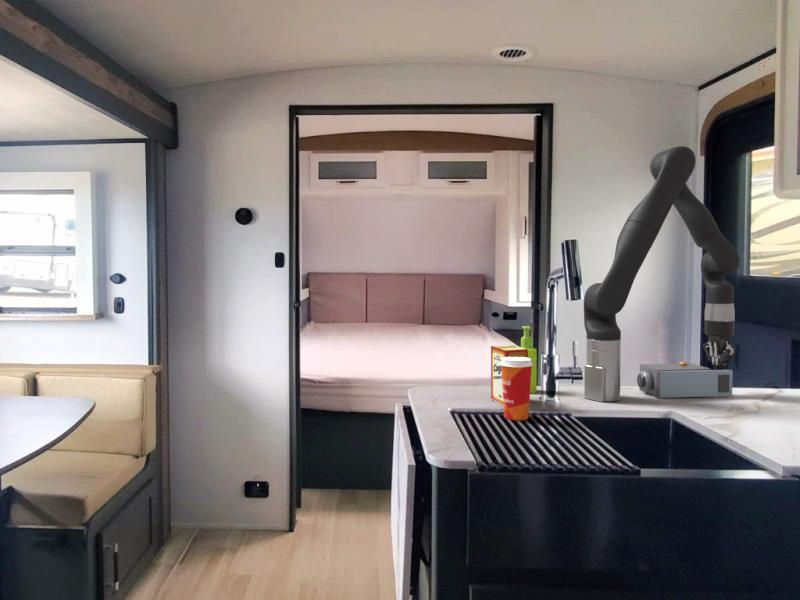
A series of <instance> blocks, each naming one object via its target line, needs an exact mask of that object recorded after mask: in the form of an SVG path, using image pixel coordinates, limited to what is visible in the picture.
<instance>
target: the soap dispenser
mask: <svg viewBox="0 0 800 600" xmlns="http://www.w3.org/2000/svg"><path fill="white" fill-rule="evenodd" d="M521 328H522V329H523V336H522V337H520V347H521V348H525V349H528V358H530V359H531V362H532V363H533V366H532V369H531V386H530V394H535V393H537V356H538V355H537V350H538V349H537V348H535V347H533V337H531V336H530V330H531V327H530V325H523V326H521Z"/></svg>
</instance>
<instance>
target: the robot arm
mask: <svg viewBox="0 0 800 600" xmlns="http://www.w3.org/2000/svg"><path fill="white" fill-rule="evenodd" d="M696 161H697V160H696V155H695V153H694V151H693V150H692V149H691V148H690V147H688V146H684V145H683V146H674V147H671V148H669V149H666V150H662V151H660V152H658V153H656V154H655V155H654V156H653V157H652V159H651V161H650V164H649V169H650V174H651V176H652V178H653V179H654V180H655V181H654V183H653V185H652V187H651V188H650V190H649V192H648V193H647V194H645V195H646V196H644V197H643V198H642V199H641V200H640V202H639V203H638V204H637V205H636V206H635V208H634V209H633V210H632V212H630V214H629V216H628V217H627V218H626V221H625V222H624V224H623V226H622V228H621V230H620V233H619V235H618V237H617V241H616V246H615V252H614V257H613V261H612V264H611V267H610V268H609V270H608V272H607V274H606V276H605V277H604V279H603V281H602V282H596V283H594V284H592V285H590V286H589V287H588V288H587V289H586V290H585V293H584V298H583V325H584V329H585V332H586V350H585V351H586V355H585V357H586V363H585V365H584V395H583V397H584V399H588V400H592V401H598V402H603V403H605V402H615V401H620V400H621V357H622V356H621V352H622V351H621V348H622V346H621V345H622V342H621V341H622V340H621V339H622V334H621V333H622V331H621V329H620V328H619V326H618V323H617V319H616V318H617V316H616V315H617V314H618V313H620V312H621V311H622V309H623V308H624V307H625V305H626V303H627V299H628V298H629V295H630V293H631V289H632V287H633V284H634V281H635V279H636V277H637V275H638V273H639V271H640V269H641V267H642V265H643V263H644V261H645V260H646V257H647V255H648V254H649V252H650V250H651V248H652V246H653V245H654V244H655V243H654V242H655V241H656V239H657V238H658V235H659V233H660V231H661V229H662V227H663V224H664V222H665V220H666V218H667V217H668V214H669V213H670V211H671V210H672V206H673V207H674V208H675V210H677V212H678V213H679V216H680V217H681V219H682V221H683V222H684V224H685V226H686V228H687V230H688V232H689V234H690V236H691V238H692V239H693V242H694V244H695V245H696V246H697V247H698V248H701V249H703V250H705V251H706V252H705V253H704V254H703V256H702V258H701V261H700V271H701V276H702V280H703V284H704V287H705V307H704V334H705V335H706V336H708V338H707V342H706V343H702V348H703V350H704V353H705V354H706V356H707V360H708V361H709V362H711V364H712V365H713V370H725V366H726V365H730V364H731V362H732V360H733V359H734V357H735V355H736V353H737V352H738V351H737V349H736V348H733V347H732V346H731V345H732V341H731V337H733V336H735V324H736V323H735V321H736V320H735V317H736V315H735V314H736V313H735V312H736V311H735V304H734V302H735V300H734V299H735V298H734V297H735V290H734V288H735V287H734V285H733V284H731V283H729V282H727V280H726V276H725V275H732V274H734V273H735V272H737V271H738V269H740V266H741V260H740V255H739V253H738V251H737V250H736V248H735V247H734V245H732V243H731V242H730V241H729V240H728V239H727V238H726V236H724V235H723V234H722V232H721V230H720V227H719V226H718V224H717V222H716V220H715V218H714V215H712V213H711V212H710V210H709V209H708V208H707V207H706V205H704V203H702V201H700V200H699V198H698V197H696V196H695V194H694V193H693V192H692V190H690V188H689V187H688V185H687V182H688V181H689V179H690V177H692V173H693V172H694V170H695V168H696V163H697V162H696Z"/></svg>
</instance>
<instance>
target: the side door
mask: <svg viewBox="0 0 800 600" xmlns="http://www.w3.org/2000/svg"><path fill="white" fill-rule="evenodd" d="M733 372H734V371H733V369H724V370H714V369H711V370H695V371H655V396H654V398H656V399H662V398H661V397H667V398H695V397H698V398H701V397H706V398H707V397H733V376H734V375H733Z"/></svg>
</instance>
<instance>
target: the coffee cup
mask: <svg viewBox="0 0 800 600" xmlns="http://www.w3.org/2000/svg"><path fill="white" fill-rule="evenodd" d="M500 365H501V372H502V389H503V405H504V406H503V415H504V417H503V418H504V419H506V420H509V421H526V420H528V419H529V414H530V403H531V402H530V401H531V400H530V399H531V393H530V386H531V369H532V366H533V363H532V362H531V359H530V358H526V357H504V358H502V359H501V363H500Z"/></svg>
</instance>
